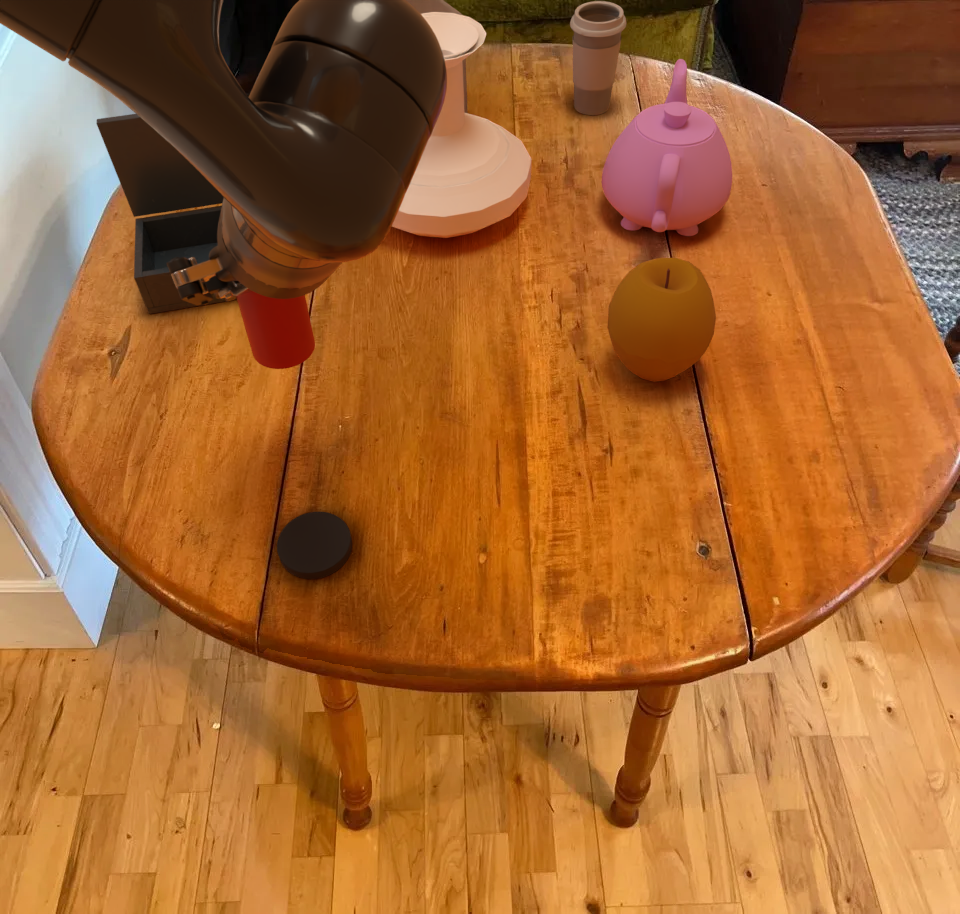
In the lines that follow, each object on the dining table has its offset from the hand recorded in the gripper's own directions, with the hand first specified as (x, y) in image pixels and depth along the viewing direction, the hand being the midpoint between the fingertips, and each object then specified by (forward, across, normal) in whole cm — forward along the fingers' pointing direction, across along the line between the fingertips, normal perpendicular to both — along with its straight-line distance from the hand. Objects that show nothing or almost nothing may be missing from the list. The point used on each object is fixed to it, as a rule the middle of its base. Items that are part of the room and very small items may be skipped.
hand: (260, 275), depth 67 cm
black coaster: (+3, +4, +22) cm, 22 cm away
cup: (+35, -54, -12) cm, 65 cm away
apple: (+5, -33, +19) cm, 38 cm away
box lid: (+26, +1, -17) cm, 31 cm away
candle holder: (+29, -27, -5) cm, 40 cm away
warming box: (+30, +2, -6) cm, 31 cm away
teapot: (+19, -49, +4) cm, 53 cm away
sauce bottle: (+3, 0, +6) cm, 6 cm away
